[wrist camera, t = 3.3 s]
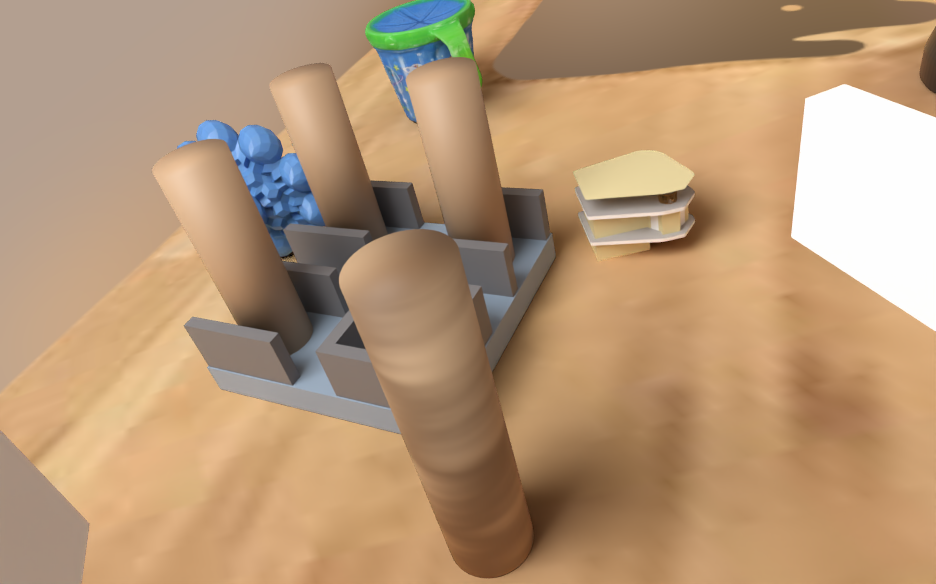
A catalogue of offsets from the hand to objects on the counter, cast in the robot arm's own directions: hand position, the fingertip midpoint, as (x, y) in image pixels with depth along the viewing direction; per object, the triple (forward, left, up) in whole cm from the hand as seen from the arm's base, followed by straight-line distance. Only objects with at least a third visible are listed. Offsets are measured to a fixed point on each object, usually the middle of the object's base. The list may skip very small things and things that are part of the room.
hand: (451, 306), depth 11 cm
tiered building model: (+6, -31, -22) cm, 39 cm away
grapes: (+33, -24, -22) cm, 46 cm away
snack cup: (+32, -51, -22) cm, 64 cm away
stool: (+20, -20, -21) cm, 35 cm away
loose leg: (+7, -7, -21) cm, 24 cm away
